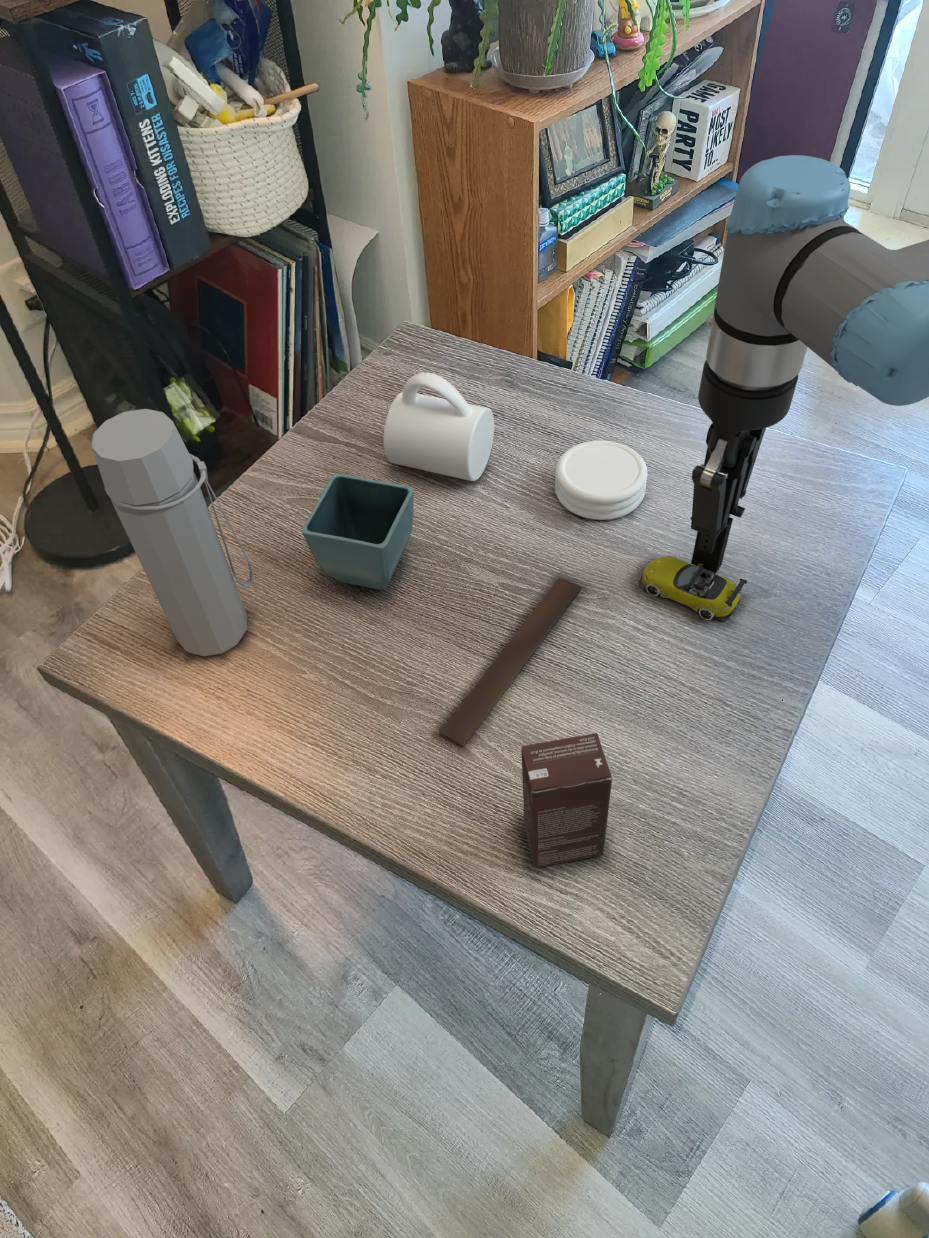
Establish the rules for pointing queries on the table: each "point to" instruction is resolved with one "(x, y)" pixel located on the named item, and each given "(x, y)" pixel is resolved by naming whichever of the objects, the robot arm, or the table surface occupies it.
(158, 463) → the water bottle
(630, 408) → the table surface
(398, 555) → the flower pot
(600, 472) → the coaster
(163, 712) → the table surface
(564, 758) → the box
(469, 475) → the mug
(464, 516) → the table surface
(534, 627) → the ruler
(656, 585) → the sports car
